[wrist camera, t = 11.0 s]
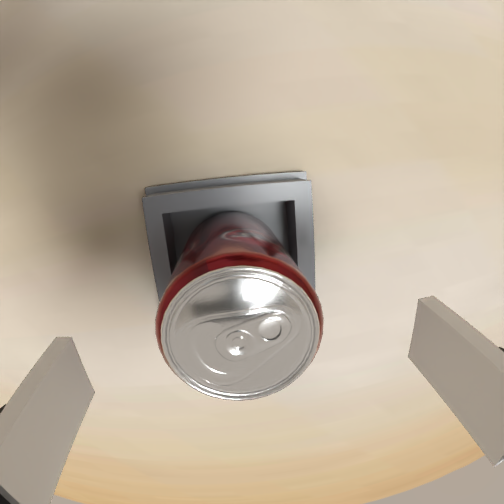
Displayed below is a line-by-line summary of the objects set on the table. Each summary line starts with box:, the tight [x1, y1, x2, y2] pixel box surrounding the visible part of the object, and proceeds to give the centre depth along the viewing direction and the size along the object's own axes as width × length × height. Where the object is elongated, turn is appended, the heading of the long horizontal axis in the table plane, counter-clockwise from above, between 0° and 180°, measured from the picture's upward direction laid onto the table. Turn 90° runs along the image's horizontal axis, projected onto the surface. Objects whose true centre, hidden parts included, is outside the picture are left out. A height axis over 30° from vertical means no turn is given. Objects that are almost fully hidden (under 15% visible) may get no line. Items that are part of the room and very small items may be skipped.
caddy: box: [142, 171, 315, 301], centre depth 23 cm, size 12×12×4 cm
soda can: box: [155, 212, 324, 401], centre depth 18 cm, size 7×7×12 cm
